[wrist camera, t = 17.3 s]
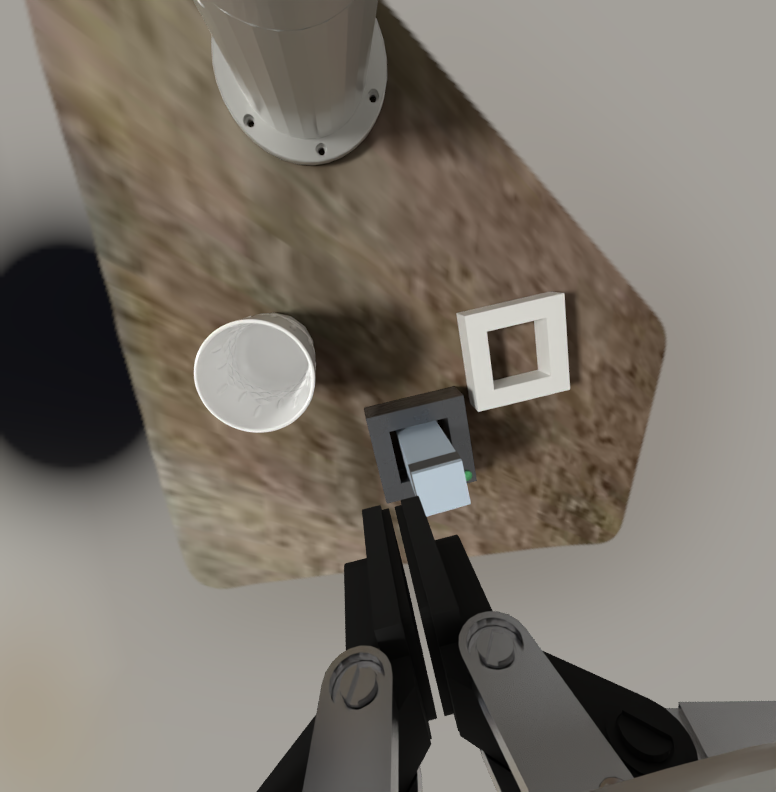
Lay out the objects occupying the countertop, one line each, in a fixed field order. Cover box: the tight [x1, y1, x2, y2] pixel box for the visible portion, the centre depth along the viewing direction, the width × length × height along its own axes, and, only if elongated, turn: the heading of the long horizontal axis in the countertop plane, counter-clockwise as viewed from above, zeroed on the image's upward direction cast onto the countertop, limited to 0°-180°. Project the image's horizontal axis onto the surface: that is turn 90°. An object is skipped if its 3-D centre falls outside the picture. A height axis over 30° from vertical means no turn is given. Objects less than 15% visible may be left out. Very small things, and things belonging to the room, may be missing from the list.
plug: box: [396, 421, 471, 517], centre depth 36 cm, size 4×4×10 cm
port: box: [364, 386, 477, 503], centre depth 39 cm, size 9×9×3 cm
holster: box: [456, 292, 570, 412], centre depth 37 cm, size 9×9×2 cm
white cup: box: [194, 312, 316, 433], centre depth 31 cm, size 8×8×10 cm
